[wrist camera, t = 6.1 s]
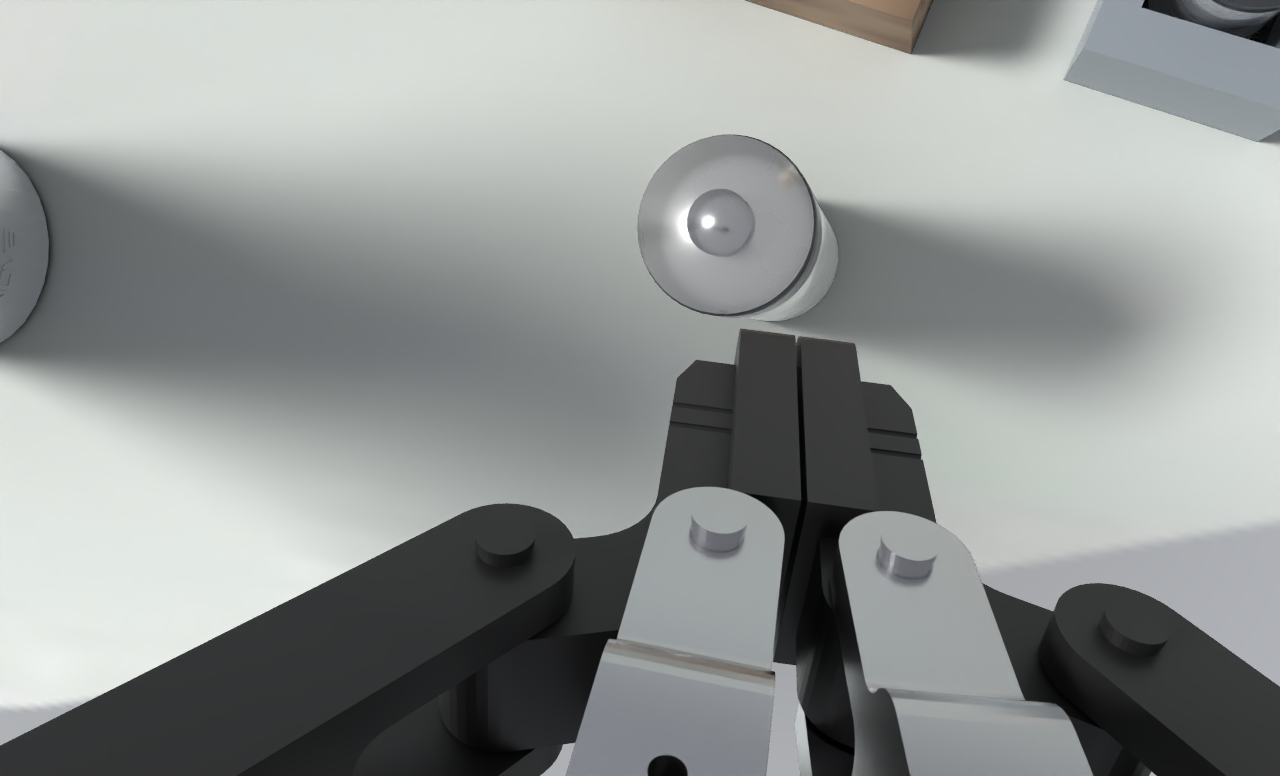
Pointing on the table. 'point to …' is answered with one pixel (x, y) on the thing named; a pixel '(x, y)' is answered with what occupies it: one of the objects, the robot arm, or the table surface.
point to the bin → (862, 18)
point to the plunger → (1221, 13)
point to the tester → (1181, 68)
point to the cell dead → (736, 231)
